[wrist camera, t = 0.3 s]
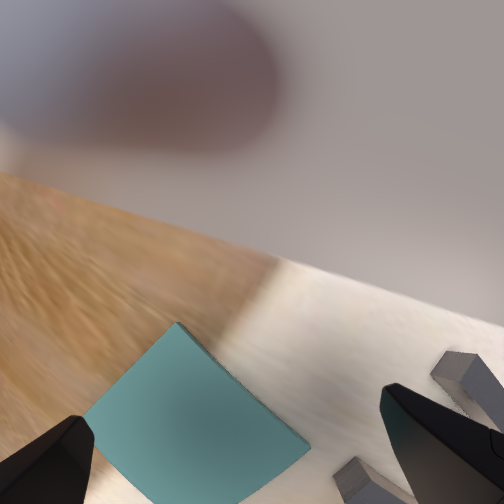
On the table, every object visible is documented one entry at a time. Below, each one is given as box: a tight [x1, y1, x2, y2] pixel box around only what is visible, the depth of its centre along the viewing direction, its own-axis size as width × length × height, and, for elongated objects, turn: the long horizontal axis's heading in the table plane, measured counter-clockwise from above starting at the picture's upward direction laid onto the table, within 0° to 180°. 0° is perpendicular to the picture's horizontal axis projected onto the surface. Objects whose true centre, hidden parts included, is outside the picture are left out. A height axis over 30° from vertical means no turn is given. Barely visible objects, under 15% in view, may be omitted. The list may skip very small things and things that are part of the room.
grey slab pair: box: [333, 351, 504, 504], centre depth 16 cm, size 10×19×4 cm, turn 135°
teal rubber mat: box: [83, 322, 311, 504], centre depth 19 cm, size 14×14×1 cm
